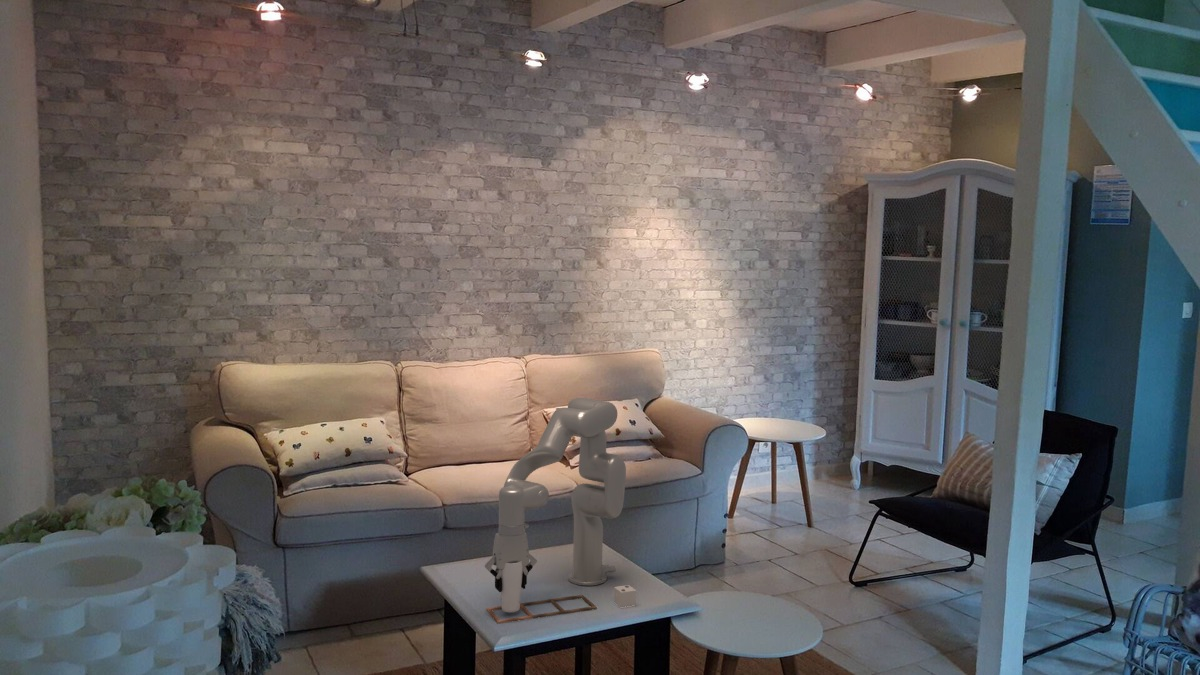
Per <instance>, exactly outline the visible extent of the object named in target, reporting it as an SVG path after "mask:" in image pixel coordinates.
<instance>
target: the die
mask: <svg viewBox="0 0 1200 675" xmlns="http://www.w3.org/2000/svg"><path fill="white" fill-rule="evenodd" d="M614 602H615V603H616V604H617V605H618V606H620V607H625V606H626V607H627V606H632V605H636V606H637V603H636V602H637V590H636V589H635V588H634V587H632V586H631V585H630V584H627V585H620V586H614V587H613V603H614ZM615 603H614V604H615ZM616 604H615V605H616ZM617 605H616V606H617ZM618 606H617V607H618ZM620 607H619V608H620ZM627 608H628V607H627Z"/></svg>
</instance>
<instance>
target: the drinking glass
mask: <svg viewBox="0 0 1200 675" xmlns="http://www.w3.org/2000/svg"><path fill="white" fill-rule="evenodd" d="M522 575H523V567H522V561H520V562H518V563H506V564H505V568H504V569H503V570H502V574H501V579H502V591H501V592H500V600H501V606H502V609H501V610H502V611H503V612H505V613H516V612H517V611H519V610H520V609H521V608H520V603H521V597H522V596H521V595H522V594H521V593H522V587H521V585H522Z"/></svg>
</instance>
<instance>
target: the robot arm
mask: <svg viewBox="0 0 1200 675" xmlns="http://www.w3.org/2000/svg"><path fill="white" fill-rule="evenodd" d="M617 419H618V408H617V407H616V406H615V404H614V403H613V402H610V401H606V400H600V399H592V398H584V397H582V398H581V397H578V398H577V397H576V398H572V399H571V400H570V401H569V402H568V404H567V407H559V408H557V409H555V410H554V411H553V413H552V415H551V417H550V419H549V420H548V423H547V425H546V427H545V429H544V431H543V432H542V434H541V437H540V438H539V440H538V443H537V445H536V446H535V448H533V449H532V450H530V451H529V452H527V453H526V454H524V455H523V456H522V457H521V458H520V459H518V460H517V461H516V462H515V463H514V465H513V466H512V467H511V469H510V471H509V474H508V476H507V477H506V480H505V481H504V483H503V484H504V485H503V487H501V488H500V490H499V492H498V532H496V533H495V535H494V540H493V548H492V557H491V558H490V559H489V560H488V561H487V562H486V563H485V564H484V568H485V569H486V570H487V571H488V572H489V573H490V574H491V575H492V576H493V577H494V588H495V589H496V590H497V591H498V593H501V591H502V579H501V574H502V570H503V569H504V568H505V564H506V563H518V562H520V561H522V567H523V575H522V585H521V589H523V590H525V589H526V585H527V583H528V581H527V580H528V575H529V573H530V571H532V569H533V567H535V565H536V564H537V563H538V559H536V558H535V557H534V556H533V555H532V554H530V550H529V548H530V547H529V540H528V535H527V532H526V529H529V528H530V525H529V523H525V516H526V515H525V514H526V513H525V512H526V511H527V510H529V511H530V510H538V509H540V508H543V507H544V506H545V505H546V504H547V503H548V500H549V498H550V493H549V490H548V488H547V487H546V486H545V485H543V484H541V483H538V482H534V481H533V482H532V481H531V480H530V481H529V480H527V479H528V477H529V476H530V475H531V474H532V473H534V471H535V472H536V470H539V469H540V468H544V467H546V466H550V465H553V464H555V463H559V462H560V461H561V460H562V459H563V457H564V454H565V452H566V450H567V448H568V446H569V444H570V442H571V440H572V438H573V437H577V438H580V442H579V443H580V445H579V457H578V474H579V475H580V477H581V478H583V479H585V480H588V481H592V482H597V483H601V484H602V483H603V485H604V486H602V485H597V484H593V483H581V484H578V485H576V486H575V487H574V488H573V490H572V492H571V498H570V500H571V508H572V512H573V513H572V514H573V548H572V549H573V550H572V551H573V553H572V554H573V555H572V556H573V557H572V558H573V559H572V571H571V572H570V573H568V575H567V579H568V582H570V583H571V584H575V585H579V586H586V587H587V586H598V585H601V584H603V583H605V582H606V581H607V580H608V578H607V574H608V573H615V572H616V570H617V567H616V566H615V565H611V566H610V565H609V564H603V547H604V545H603V543H604V541H603V540H604V526H603V521H602V518H605V519H614V518H618V517H619V516H620V515H621V513H622V511H623V508H624V502H625V501H624V500H625V491H626V490H625V489H626V478H627V477H626V476H627V467H626V464H625V461H624V459H623V458H622V457H621V456H620V455H617V454H614V453H608V451H607V440H608V439H607V438H608V437H607V433H606V430H608V429H610V428H612V427H613V426H614V425H615V424H616V421H617ZM493 565H494V566H496V567H495V569H493V568H492V566H493Z"/></svg>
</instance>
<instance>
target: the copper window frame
mask: <svg viewBox="0 0 1200 675" xmlns="http://www.w3.org/2000/svg"><path fill="white" fill-rule="evenodd" d="M577 598H578V599H581V598H582V599H583V600H584V601H583V600H582V599H581V600H582V601H583V602H584V603H585V604H587V606H586V607H581V608H572V609H566V610H565V609H564V608H563V607H562V606H560V605H559V603H558V602H561V601H569V600H577ZM549 603H551V604H552V605H553V607H555V608H556V610H558V611H552V612H545V613H539V614H533V613H531V611H530V610H529V609H528V608H527V607H528V606H533V605H542V604H549ZM526 606H527V607H526ZM590 606H591V607H590ZM520 609H521V610H522V611H523V612H524V613H525V614H526V615H525V616H524V615H523V616H518V617H511V618H510V617H509V618H504V619H500V618H499V617H498V616H497V614H496V613H495V612H494V611H498V610H502V605H499V606H491V607H486V609H485V611H486V612H487V613H488V614H489V615H490V616H491V618H492V619H493V618H494V619H493V620H494V621H495V622H496V623H497V624H498V623H499V624H504V622H506V623H511V622H512V621H513V622H519V621H518V620H520V621H525V620H524V619H527V620H532V618H533V619H538V617H540V618H546V616H547V617H552V616H558V615H566V614H567V615H568V614H572V613H578V612H580V611H581V612H586V610H587V611H593V610H592V609H594V610H597V609H598V607H597V606H596V605H595V604H594V603H593V602H592V601H590V600H589V598H587V597H586V596H585V595H583V594H579V595H578V594H577V595H571V596H563V597H558V598H557V597H556V598H550V599H549V598H548V599H544V600H543V599H542V600H535V601H527V602H520ZM492 610H493V611H492Z"/></svg>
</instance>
